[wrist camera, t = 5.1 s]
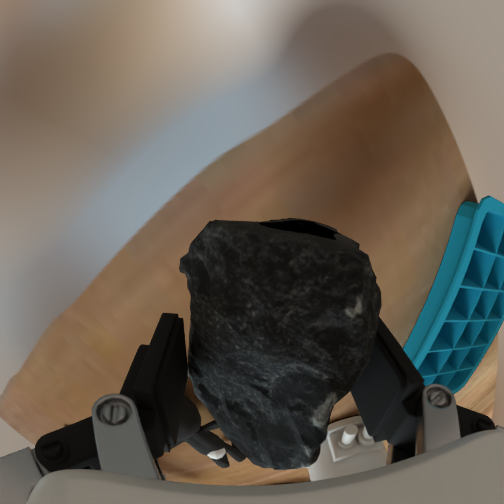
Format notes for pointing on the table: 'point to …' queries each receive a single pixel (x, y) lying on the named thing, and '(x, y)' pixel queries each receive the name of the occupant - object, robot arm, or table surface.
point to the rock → (277, 332)
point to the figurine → (204, 436)
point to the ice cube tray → (463, 299)
